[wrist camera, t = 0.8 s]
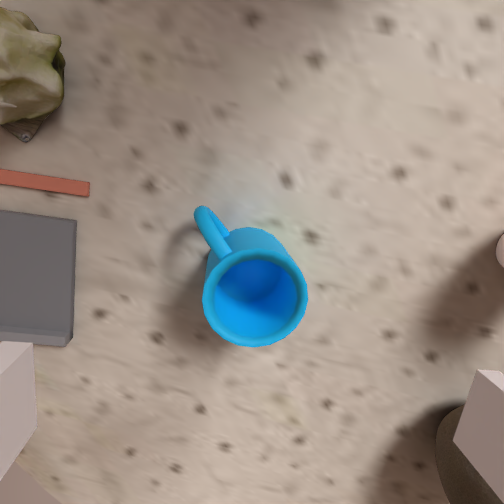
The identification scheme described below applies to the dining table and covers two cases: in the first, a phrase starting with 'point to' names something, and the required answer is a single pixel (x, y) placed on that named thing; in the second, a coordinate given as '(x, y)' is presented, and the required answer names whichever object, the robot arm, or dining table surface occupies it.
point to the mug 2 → (500, 251)
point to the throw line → (44, 182)
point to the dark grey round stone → (459, 467)
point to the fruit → (28, 74)
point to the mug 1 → (249, 284)
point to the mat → (37, 278)
